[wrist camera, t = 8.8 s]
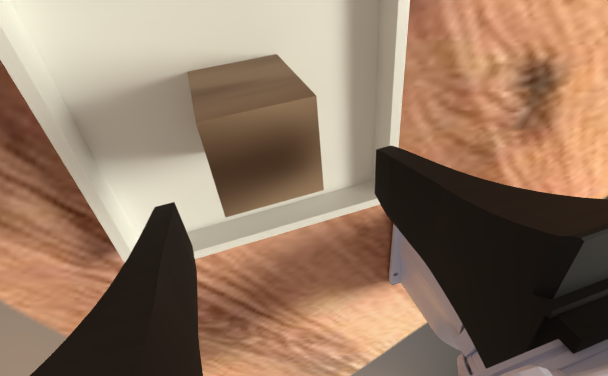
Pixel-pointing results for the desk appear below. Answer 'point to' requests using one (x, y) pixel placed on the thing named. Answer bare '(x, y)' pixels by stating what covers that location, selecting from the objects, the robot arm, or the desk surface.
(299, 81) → the walnut block
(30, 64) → the tray
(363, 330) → the desk surface
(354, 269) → the desk surface
